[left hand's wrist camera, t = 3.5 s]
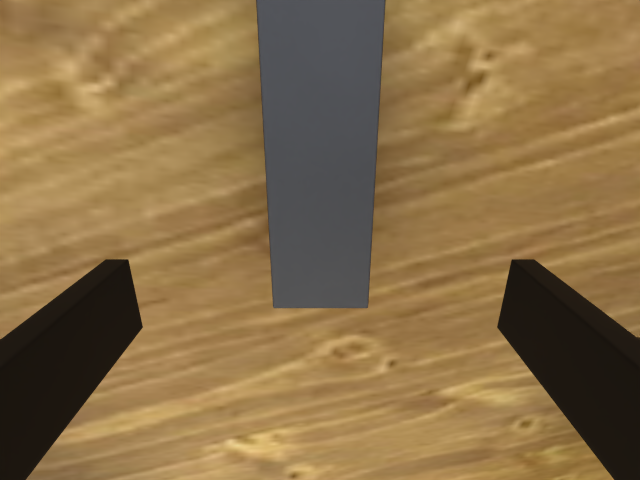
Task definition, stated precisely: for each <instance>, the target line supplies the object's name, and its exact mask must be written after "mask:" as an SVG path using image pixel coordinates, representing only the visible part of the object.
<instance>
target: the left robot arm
mask: <svg viewBox="0 0 640 480" xmlns="http://www.w3.org/2000/svg"><path fill="white" fill-rule="evenodd" d="M142 328H143V326H142V322H141V317H140V312H139V308H138V303H137V298H136V294H135V289H134V284H133V280H132V275H131V270H130V266H129V261H128V260H105V261H103V262H102V263H101V264H99V265H98V266H97V267H95V268H94V269H93V270H91V271H90V272H89V273H87V274H86V275H85V276H84V277H82V278H81V279H80V280H78V281H77V282H76V283H74V284H73V285H72V286H70V287H69V288H68V289H66V290H65V291H64V292H63V293H61V294H60V295H59V296H57V297H56V298H55V299H53V300H52V301H51V302H49V303H48V304H47V305H45V306H44V307H43V308H41V309H40V310H39V311H38V312H36V313H35V314H34V315H32V316H31V317H30V318H28V319H27V320H26V321H24V322H23V323H22V324H20V325H19V326H18V327H17V328H15V329H14V330H13V331H11V332H10V333H9V334H7V335H6V336H5V337H3V338H2V339H0V480H26V479H27V477H28V476H29V475H30V473H31V472H32V471H33V470H34V468H35V467H36V466H37V464H38V463H39V462H40V460H41V459H42V458H43V456H44V455H45V454H46V453H47V451H48V450H49V449H50V447H51V446H52V445H53V443H54V442H55V441H56V440H57V438H58V437H59V436H60V434H61V433H62V432H63V430H64V429H65V428H66V427H67V425H68V424H69V423H70V421H71V420H72V419H73V417H74V416H75V415H76V414H77V412H78V411H79V410H80V408H81V407H82V406H83V404H84V403H85V402H86V400H87V399H88V398H89V397H90V395H91V394H92V393H93V391H94V390H95V389H96V387H97V386H98V385H99V384H100V382H101V381H102V380H103V378H104V377H105V376H106V374H107V373H108V372H109V371H110V369H111V368H112V367H113V365H114V364H115V363H116V361H117V360H118V359H119V358H120V356H121V355H122V354H123V352H124V351H125V350H126V348H127V347H128V346H129V345H130V343H131V342H132V341H133V339H134V338H135V337H136V335H137V334H138V333H139V331H140V330H141V329H142ZM497 328H498V329H499V330H500V331H501V333H502V334H503V335H504V337H505V338H506V339H507V341H508V342H509V343H510V345H511V346H512V347H513V348H514V350H515V351H516V352H517V354H518V355H519V356H520V358H521V359H522V360H523V361H524V363H525V364H526V365H527V367H528V368H529V369H530V371H531V372H532V373H533V374H534V376H535V377H536V378H537V380H538V381H539V382H540V384H541V385H542V386H543V387H544V389H545V390H546V391H547V393H548V394H549V395H550V397H551V398H552V399H553V400H554V402H555V403H556V404H557V406H558V407H559V408H560V410H561V411H562V412H563V414H564V415H565V416H566V417H567V419H568V420H569V421H570V423H571V424H572V425H573V427H574V428H575V429H576V430H577V432H578V433H579V434H580V436H581V437H582V438H583V440H584V441H585V442H586V443H587V445H588V446H589V447H590V449H591V450H592V451H593V453H594V454H595V455H596V456H597V458H598V459H599V460H600V462H601V463H602V464H603V466H604V467H605V468H606V470H607V471H608V472H609V473H610V475H611V476H612V477H613V479H614V480H640V338H639V337H635V336H634V335H633V334H631V333H630V332H629V331H627V330H626V329H625V328H623V327H622V326H621V325H620V324H618V323H617V322H616V321H614V320H613V319H612V318H610V317H609V316H608V315H606V314H605V313H604V312H602V311H601V310H600V309H599V308H597V307H596V306H595V305H593V304H592V303H591V302H589V301H588V300H587V299H585V298H584V297H583V296H581V295H580V294H579V293H577V292H576V291H575V290H574V289H572V288H571V287H570V286H568V285H567V284H566V283H564V282H563V281H562V280H560V279H559V278H558V277H556V276H555V275H554V274H553V273H551V272H550V271H549V270H547V269H546V268H545V267H543V266H542V265H541V264H539V263H538V262H537V261H535V260H512V261H511V266H510V270H509V275H508V280H507V284H506V289H505V294H504V298H503V303H502V308H501V312H500V317H499V322H498V326H497Z"/></svg>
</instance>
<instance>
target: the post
mask: <svg viewBox="0 0 640 480" xmlns="http://www.w3.org/2000/svg"><path fill="white" fill-rule="evenodd" d="M256 4H257V22H258V41H259V59H260V77H261V95H262V113H263V131H264V149H265V167H266V185H267V204H268V222H269V240H270V258H271V276H272V294H273V307H274V308H368V298H369V280H370V263H371V245H372V227H373V210H374V192H375V174H376V157H377V139H378V121H379V104H380V86H381V68H382V51H383V33H384V15H385V0H256Z"/></svg>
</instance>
